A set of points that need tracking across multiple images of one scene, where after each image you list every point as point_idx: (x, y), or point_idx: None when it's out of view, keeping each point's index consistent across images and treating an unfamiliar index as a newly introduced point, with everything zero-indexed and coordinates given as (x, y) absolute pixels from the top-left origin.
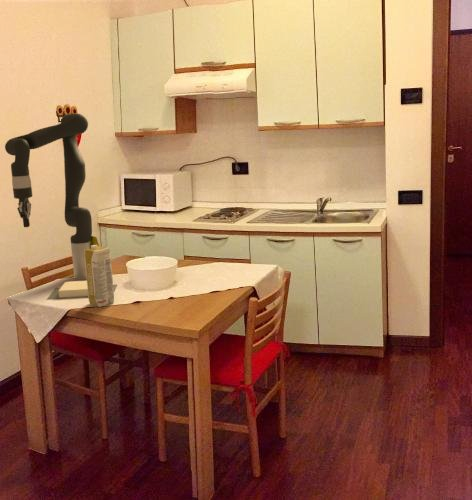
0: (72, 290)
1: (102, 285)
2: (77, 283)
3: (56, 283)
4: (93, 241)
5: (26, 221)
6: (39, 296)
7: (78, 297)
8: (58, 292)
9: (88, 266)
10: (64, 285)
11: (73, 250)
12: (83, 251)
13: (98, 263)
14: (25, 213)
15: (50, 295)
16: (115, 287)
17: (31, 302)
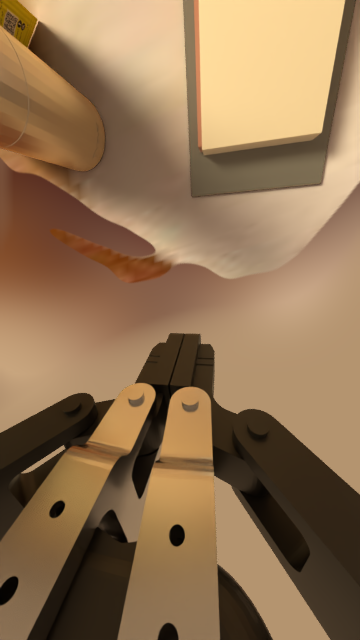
0: (333, 62)
1: None
2: (235, 78)
3: (138, 213)
4: None
5: (211, 377)
6: (262, 222)
7: (342, 42)
8: (246, 167)
9: None
10: (251, 133)
11: (29, 124)
12: (22, 54)
13: None
14: (345, 505)
15: (274, 185)
16: None
17: (320, 227)
